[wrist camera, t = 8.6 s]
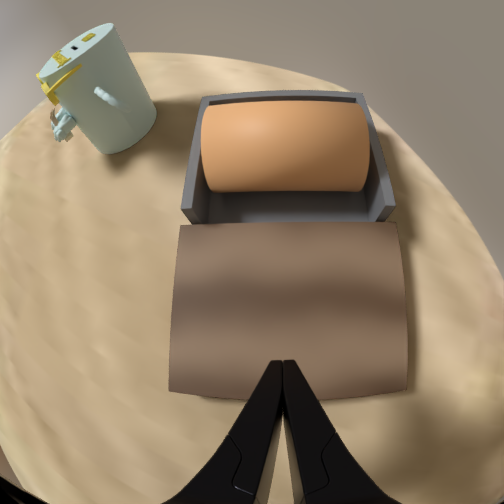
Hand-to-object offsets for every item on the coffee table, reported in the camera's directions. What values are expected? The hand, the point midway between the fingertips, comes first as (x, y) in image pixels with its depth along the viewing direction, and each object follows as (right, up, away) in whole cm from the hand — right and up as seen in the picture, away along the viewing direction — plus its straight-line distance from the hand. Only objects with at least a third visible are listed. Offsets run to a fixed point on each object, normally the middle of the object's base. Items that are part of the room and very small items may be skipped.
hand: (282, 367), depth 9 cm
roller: (+1, +12, +11) cm, 16 cm away
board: (+2, 0, +11) cm, 11 cm away
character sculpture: (-18, +18, +20) cm, 32 cm away
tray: (+2, +11, +15) cm, 18 cm away
